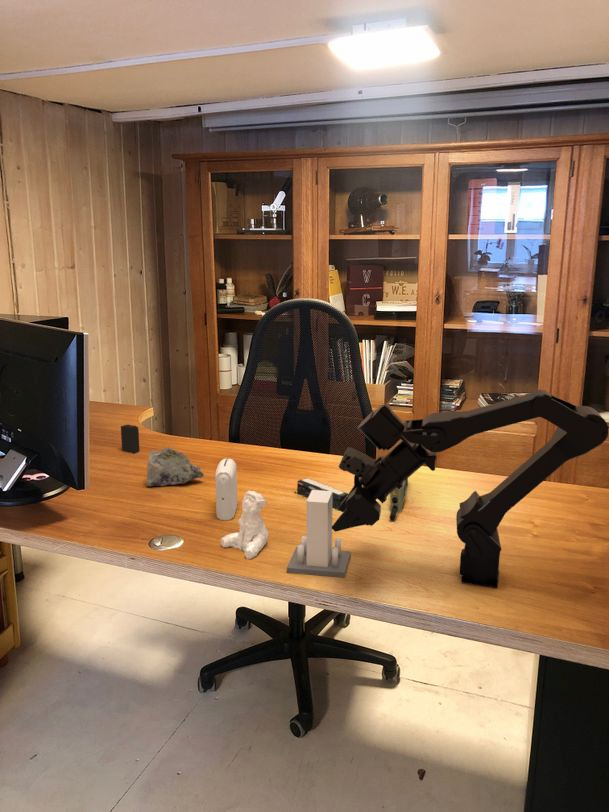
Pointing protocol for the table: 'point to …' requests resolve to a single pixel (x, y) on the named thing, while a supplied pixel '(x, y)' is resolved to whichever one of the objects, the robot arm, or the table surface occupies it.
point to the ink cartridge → (130, 438)
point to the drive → (319, 528)
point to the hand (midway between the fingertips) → (336, 519)
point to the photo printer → (226, 489)
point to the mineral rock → (170, 468)
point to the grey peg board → (334, 569)
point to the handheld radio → (397, 499)
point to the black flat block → (308, 485)
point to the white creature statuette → (249, 527)
